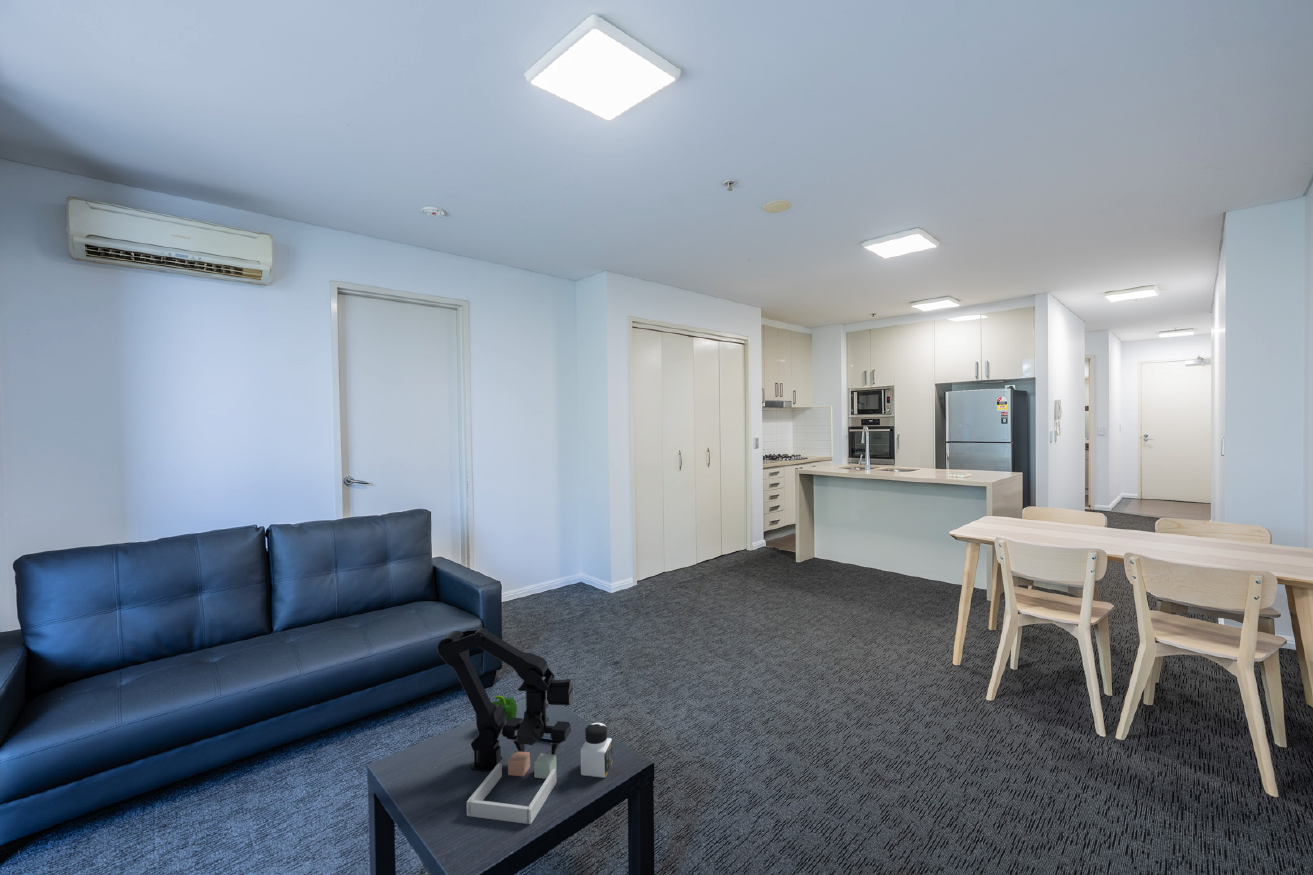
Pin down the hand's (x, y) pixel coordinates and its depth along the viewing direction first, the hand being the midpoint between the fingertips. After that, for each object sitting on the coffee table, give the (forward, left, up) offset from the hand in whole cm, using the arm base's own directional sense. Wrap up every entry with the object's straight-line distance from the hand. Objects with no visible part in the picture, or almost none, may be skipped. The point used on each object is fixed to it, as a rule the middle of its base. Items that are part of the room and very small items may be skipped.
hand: (537, 758), depth 154 cm
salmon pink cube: (-4, -4, -2) cm, 6 cm away
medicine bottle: (+17, +1, -2) cm, 18 cm away
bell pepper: (-20, +18, -2) cm, 26 cm away
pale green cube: (+4, -4, -2) cm, 5 cm away
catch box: (0, -15, -2) cm, 15 cm away
